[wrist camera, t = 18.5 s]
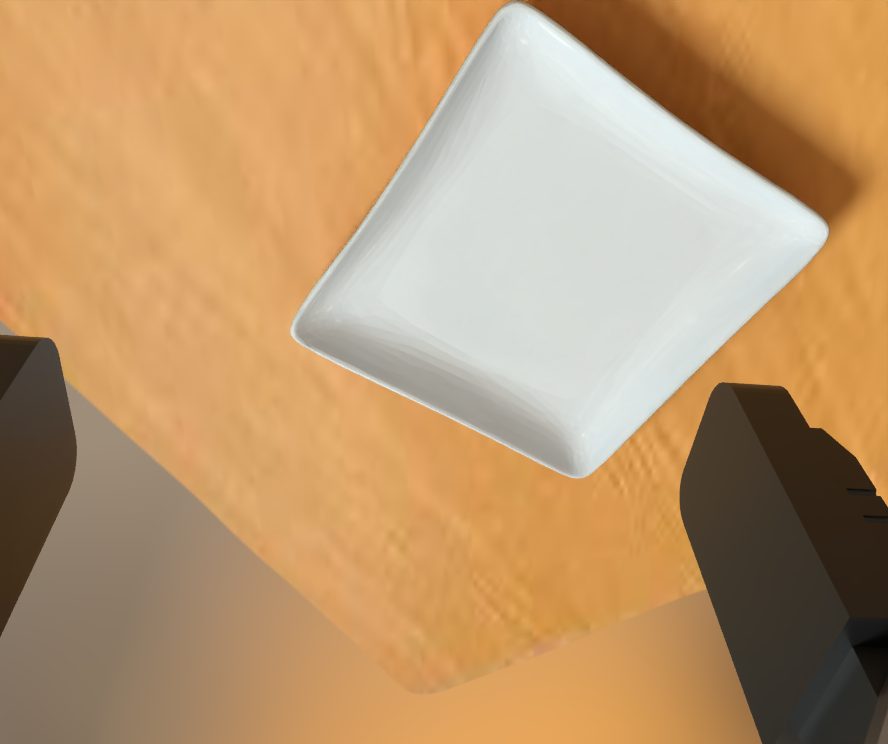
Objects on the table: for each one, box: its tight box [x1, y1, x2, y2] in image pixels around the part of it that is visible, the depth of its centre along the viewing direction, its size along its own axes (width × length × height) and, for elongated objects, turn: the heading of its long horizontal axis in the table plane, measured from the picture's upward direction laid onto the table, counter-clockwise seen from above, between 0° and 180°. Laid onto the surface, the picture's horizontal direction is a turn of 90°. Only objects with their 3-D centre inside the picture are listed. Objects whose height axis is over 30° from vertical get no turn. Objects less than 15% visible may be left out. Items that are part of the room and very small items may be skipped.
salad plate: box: [290, 0, 829, 478], centre depth 46 cm, size 21×21×3 cm
